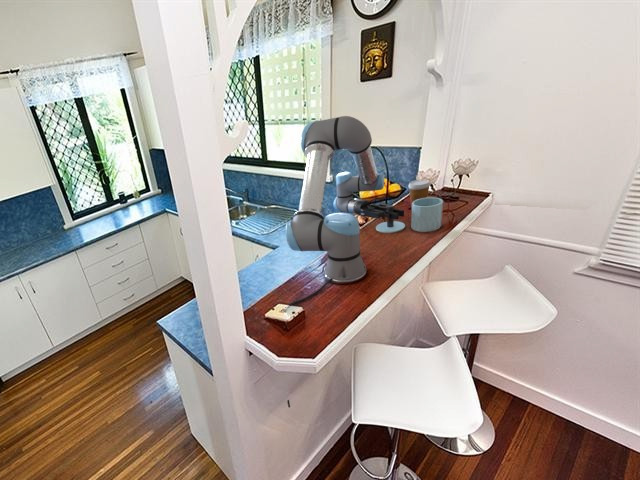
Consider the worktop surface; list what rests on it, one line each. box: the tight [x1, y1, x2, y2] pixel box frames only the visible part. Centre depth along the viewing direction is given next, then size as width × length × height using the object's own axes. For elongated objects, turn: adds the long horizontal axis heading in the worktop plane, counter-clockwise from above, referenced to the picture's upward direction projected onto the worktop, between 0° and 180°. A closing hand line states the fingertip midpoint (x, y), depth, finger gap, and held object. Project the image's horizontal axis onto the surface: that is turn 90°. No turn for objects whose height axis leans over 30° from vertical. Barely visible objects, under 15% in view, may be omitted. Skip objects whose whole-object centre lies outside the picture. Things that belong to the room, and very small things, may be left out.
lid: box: [375, 204, 406, 234], centre depth 156 cm, size 12×12×11 cm
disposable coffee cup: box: [407, 179, 431, 208], centre depth 170 cm, size 10×10×12 cm
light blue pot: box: [410, 196, 444, 233], centre depth 149 cm, size 11×11×12 cm
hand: (400, 215), depth 151 cm, fingers closed on lid, 3 cm apart
